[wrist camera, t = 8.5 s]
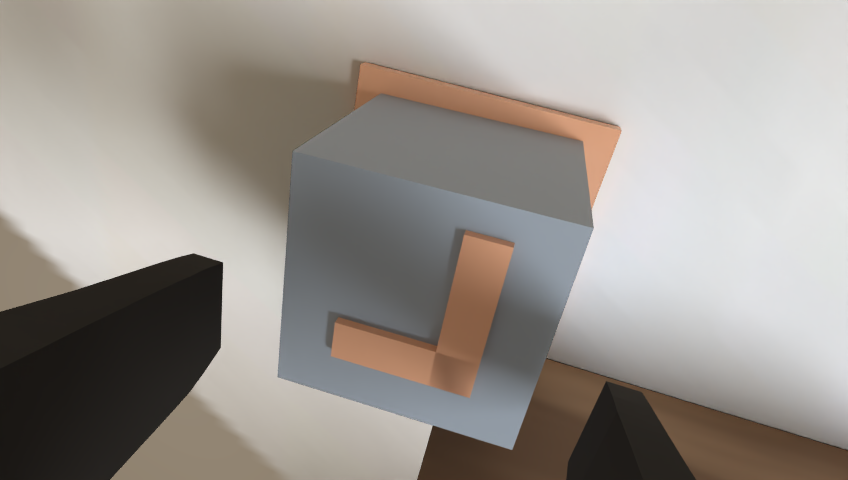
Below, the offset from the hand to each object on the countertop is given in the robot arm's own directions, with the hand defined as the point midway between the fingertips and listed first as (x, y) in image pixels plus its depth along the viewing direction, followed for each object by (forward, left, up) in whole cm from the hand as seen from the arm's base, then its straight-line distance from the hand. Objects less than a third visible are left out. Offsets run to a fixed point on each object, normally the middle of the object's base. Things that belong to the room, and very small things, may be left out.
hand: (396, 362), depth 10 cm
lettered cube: (0, 0, -7) cm, 7 cm away
